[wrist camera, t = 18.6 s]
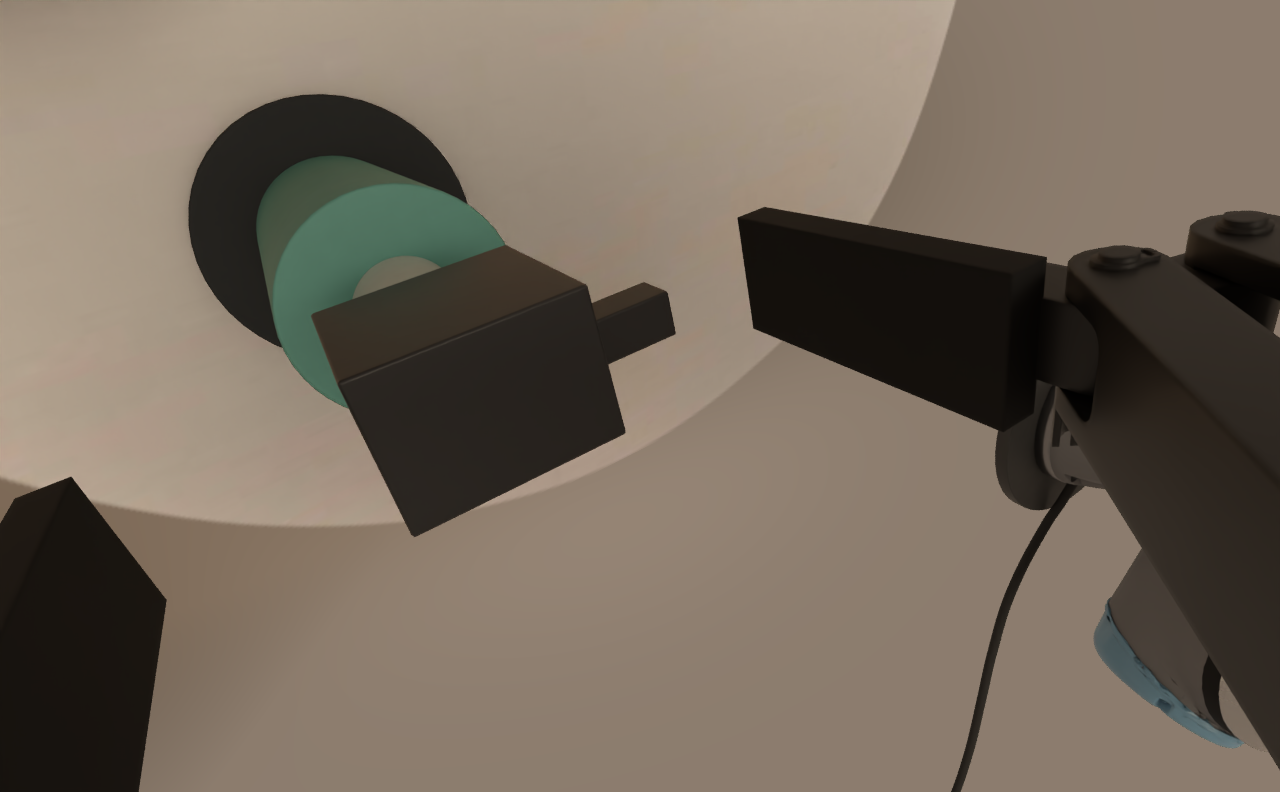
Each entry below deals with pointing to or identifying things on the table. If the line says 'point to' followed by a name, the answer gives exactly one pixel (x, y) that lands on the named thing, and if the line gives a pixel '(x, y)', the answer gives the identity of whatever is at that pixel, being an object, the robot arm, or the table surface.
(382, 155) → the black round coaster
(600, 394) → the spray bottle
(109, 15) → the table surface
